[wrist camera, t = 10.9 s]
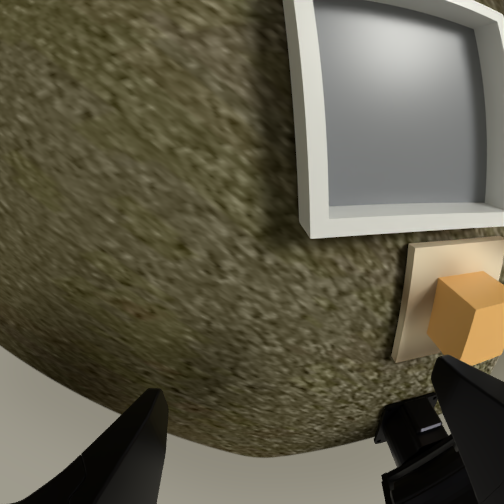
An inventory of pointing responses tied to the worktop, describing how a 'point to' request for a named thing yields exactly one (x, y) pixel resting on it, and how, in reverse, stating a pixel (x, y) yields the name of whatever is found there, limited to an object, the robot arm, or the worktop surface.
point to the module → (468, 317)
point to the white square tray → (397, 115)
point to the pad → (425, 282)
